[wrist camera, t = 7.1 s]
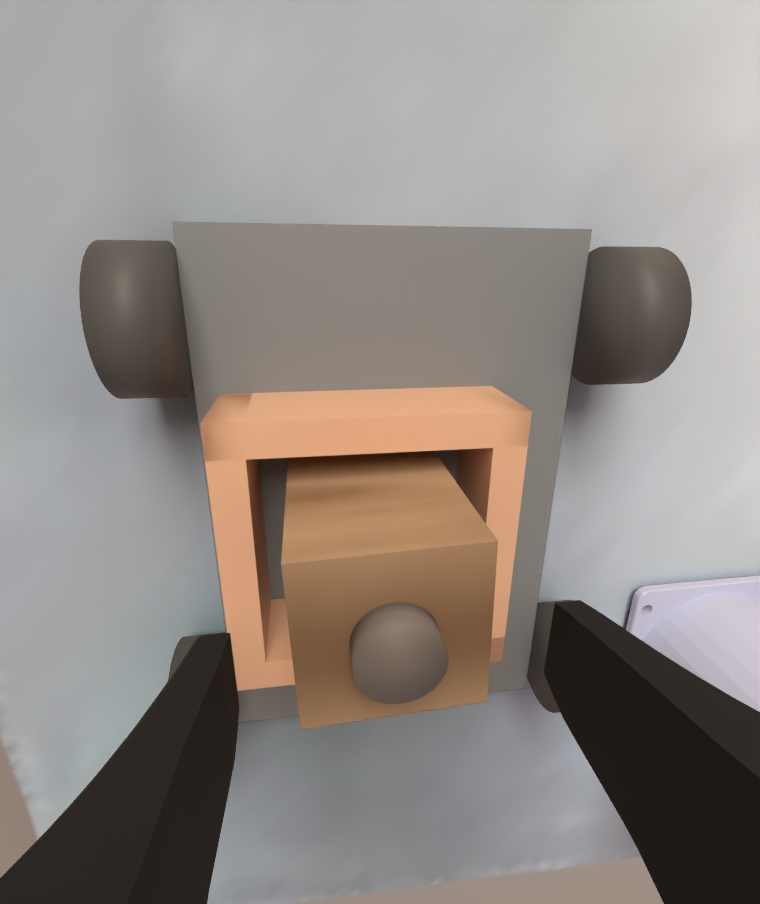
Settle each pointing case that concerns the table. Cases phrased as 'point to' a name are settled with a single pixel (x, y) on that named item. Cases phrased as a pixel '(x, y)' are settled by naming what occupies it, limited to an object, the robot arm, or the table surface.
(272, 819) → the table surface
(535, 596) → the chassis
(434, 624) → the block
